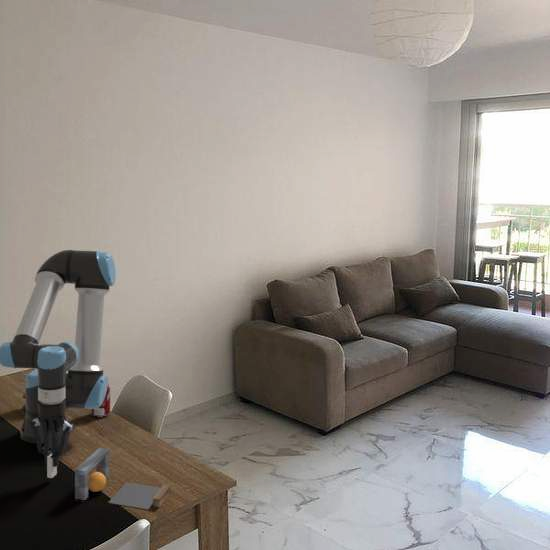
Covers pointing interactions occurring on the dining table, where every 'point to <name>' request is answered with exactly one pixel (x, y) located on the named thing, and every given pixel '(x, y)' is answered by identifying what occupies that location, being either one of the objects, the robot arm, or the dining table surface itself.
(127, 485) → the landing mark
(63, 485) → the dining table surface
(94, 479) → the ball
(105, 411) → the soda can
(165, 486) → the stopper wall
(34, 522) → the dining table surface
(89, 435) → the dining table surface
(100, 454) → the bridge
